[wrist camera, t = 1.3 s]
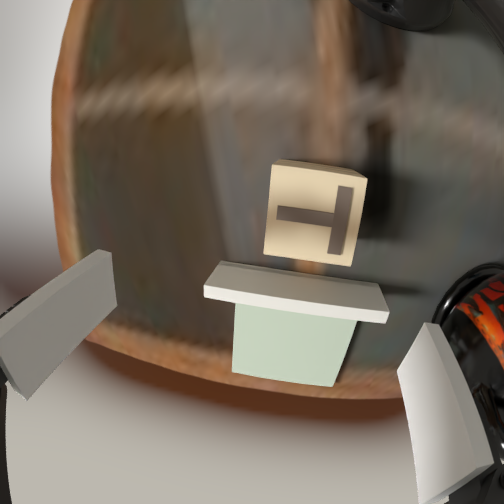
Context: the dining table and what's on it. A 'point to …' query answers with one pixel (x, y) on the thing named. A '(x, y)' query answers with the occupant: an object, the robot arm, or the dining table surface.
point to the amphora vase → (478, 338)
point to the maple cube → (314, 212)
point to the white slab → (297, 292)
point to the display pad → (289, 345)
